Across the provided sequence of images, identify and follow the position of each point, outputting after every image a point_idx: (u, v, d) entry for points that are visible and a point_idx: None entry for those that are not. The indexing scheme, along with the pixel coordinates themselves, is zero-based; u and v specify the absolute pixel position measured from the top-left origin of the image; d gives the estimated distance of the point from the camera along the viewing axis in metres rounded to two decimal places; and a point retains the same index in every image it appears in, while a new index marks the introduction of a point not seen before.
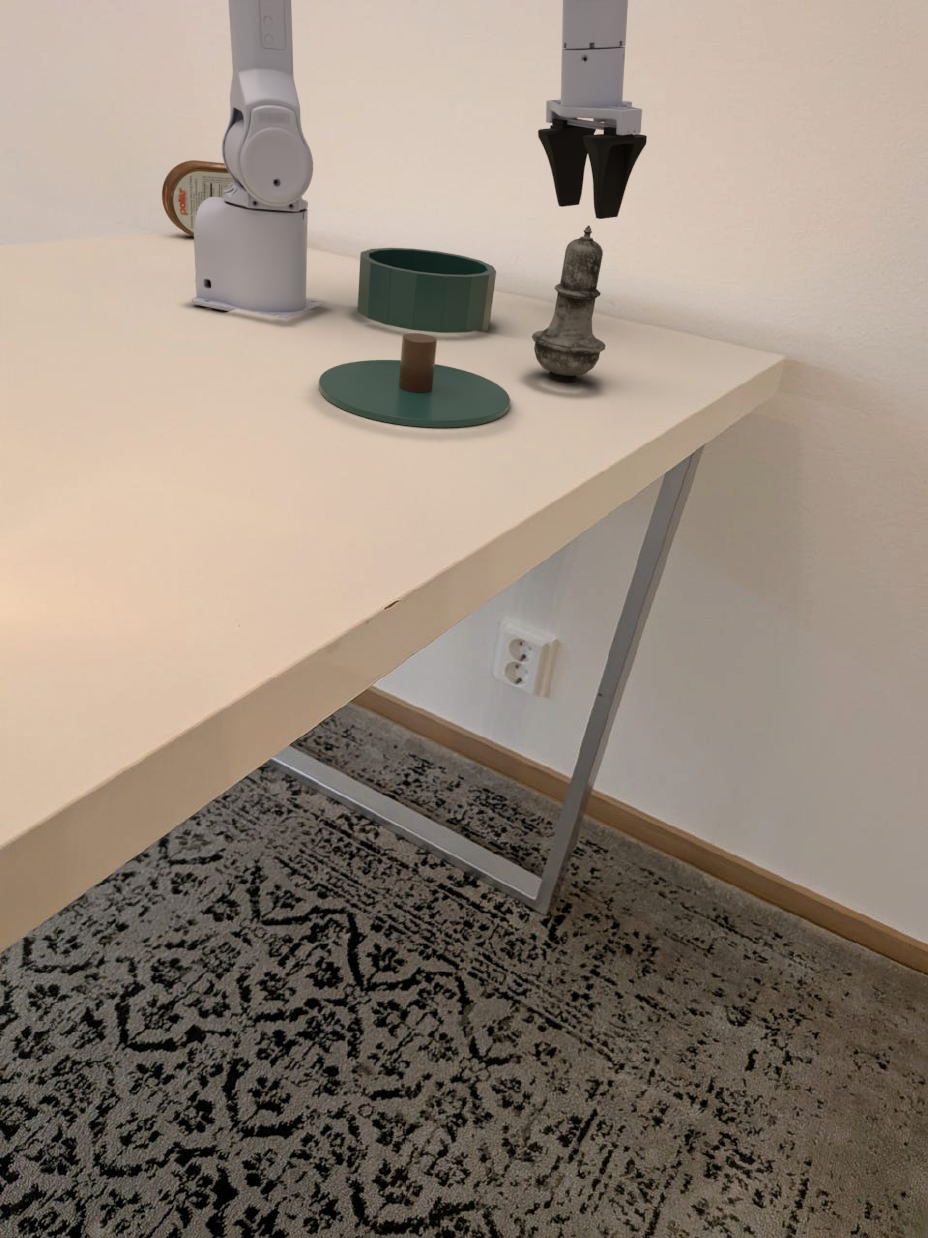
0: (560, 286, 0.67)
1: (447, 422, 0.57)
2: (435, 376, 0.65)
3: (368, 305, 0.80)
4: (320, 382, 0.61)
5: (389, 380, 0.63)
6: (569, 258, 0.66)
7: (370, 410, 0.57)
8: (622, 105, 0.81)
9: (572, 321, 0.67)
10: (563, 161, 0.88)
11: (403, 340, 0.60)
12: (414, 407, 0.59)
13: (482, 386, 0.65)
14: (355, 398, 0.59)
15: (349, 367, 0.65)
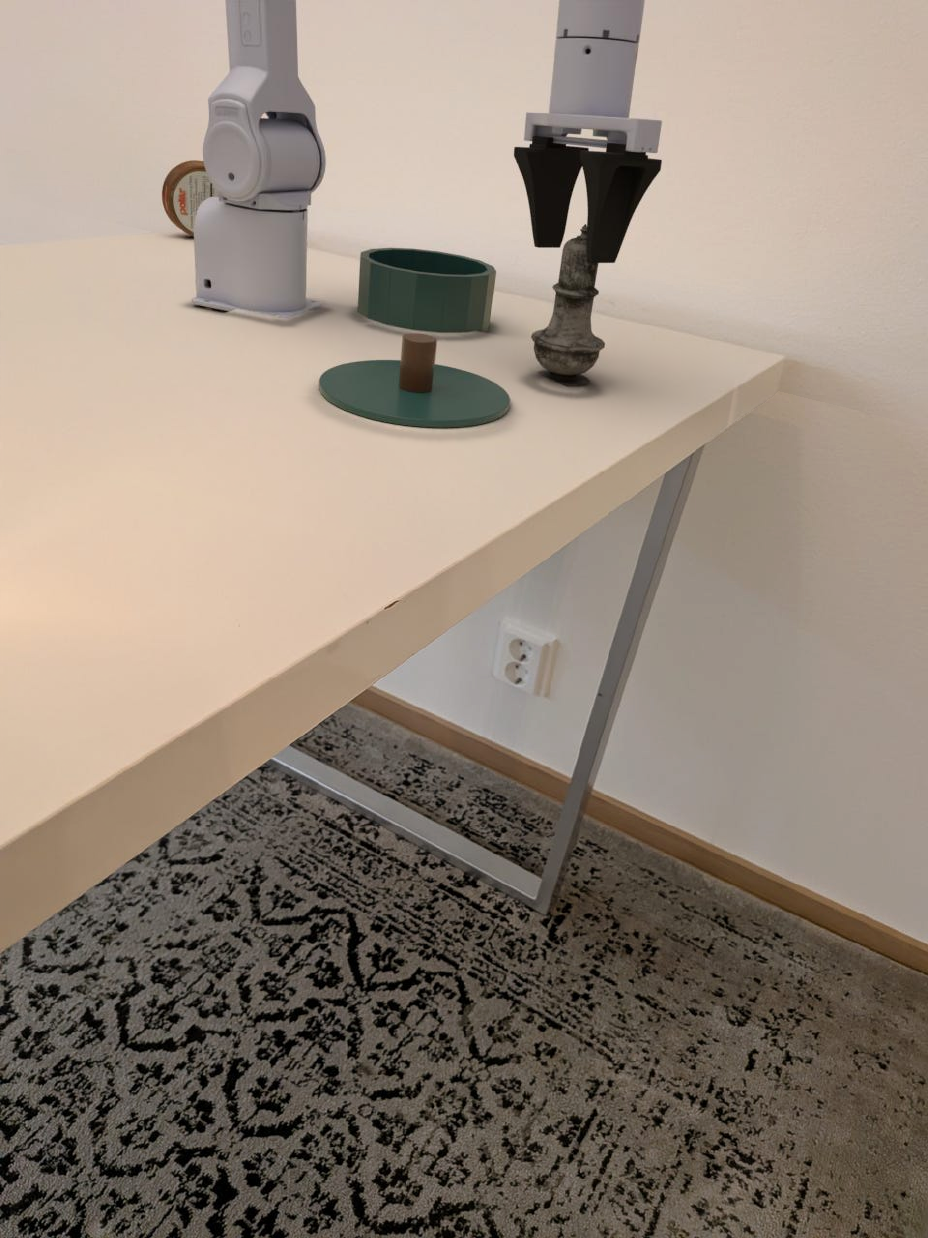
0: (558, 286, 0.67)
1: (447, 422, 0.57)
2: (435, 376, 0.65)
3: (368, 305, 0.80)
4: (320, 382, 0.61)
5: (389, 380, 0.63)
6: (566, 258, 0.65)
7: (370, 410, 0.57)
8: None
9: (571, 320, 0.67)
10: (544, 189, 0.68)
11: (403, 340, 0.60)
12: (414, 407, 0.59)
13: (482, 386, 0.65)
14: (355, 398, 0.59)
15: (349, 367, 0.65)
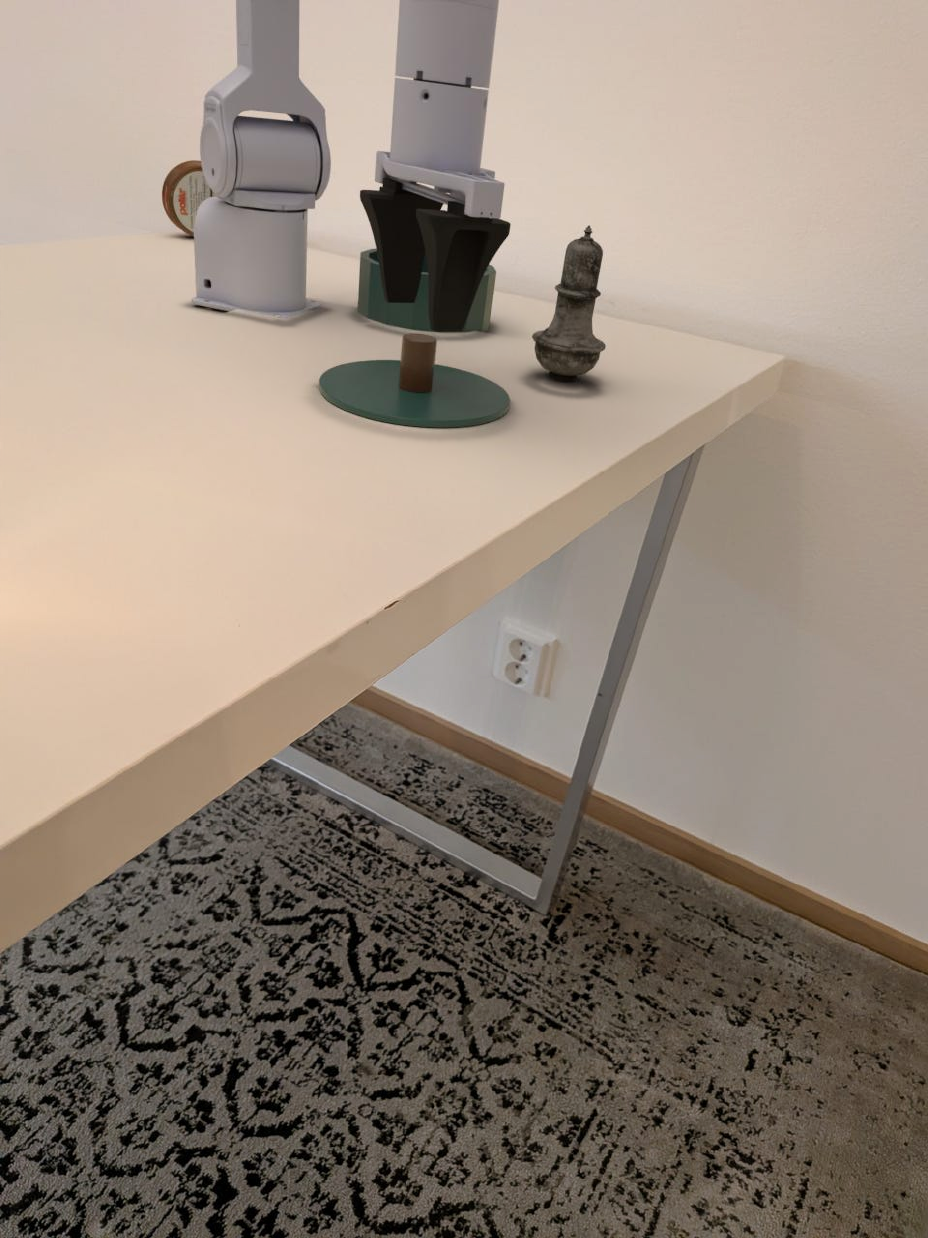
0: (560, 286, 0.67)
1: (447, 422, 0.57)
2: (435, 376, 0.65)
3: (368, 305, 0.80)
4: (320, 382, 0.61)
5: (389, 380, 0.63)
6: (569, 258, 0.66)
7: (370, 410, 0.57)
8: (479, 174, 0.54)
9: (573, 321, 0.67)
10: (394, 240, 0.60)
11: (403, 340, 0.60)
12: (414, 407, 0.59)
13: (482, 386, 0.65)
14: (355, 398, 0.59)
15: (349, 367, 0.65)
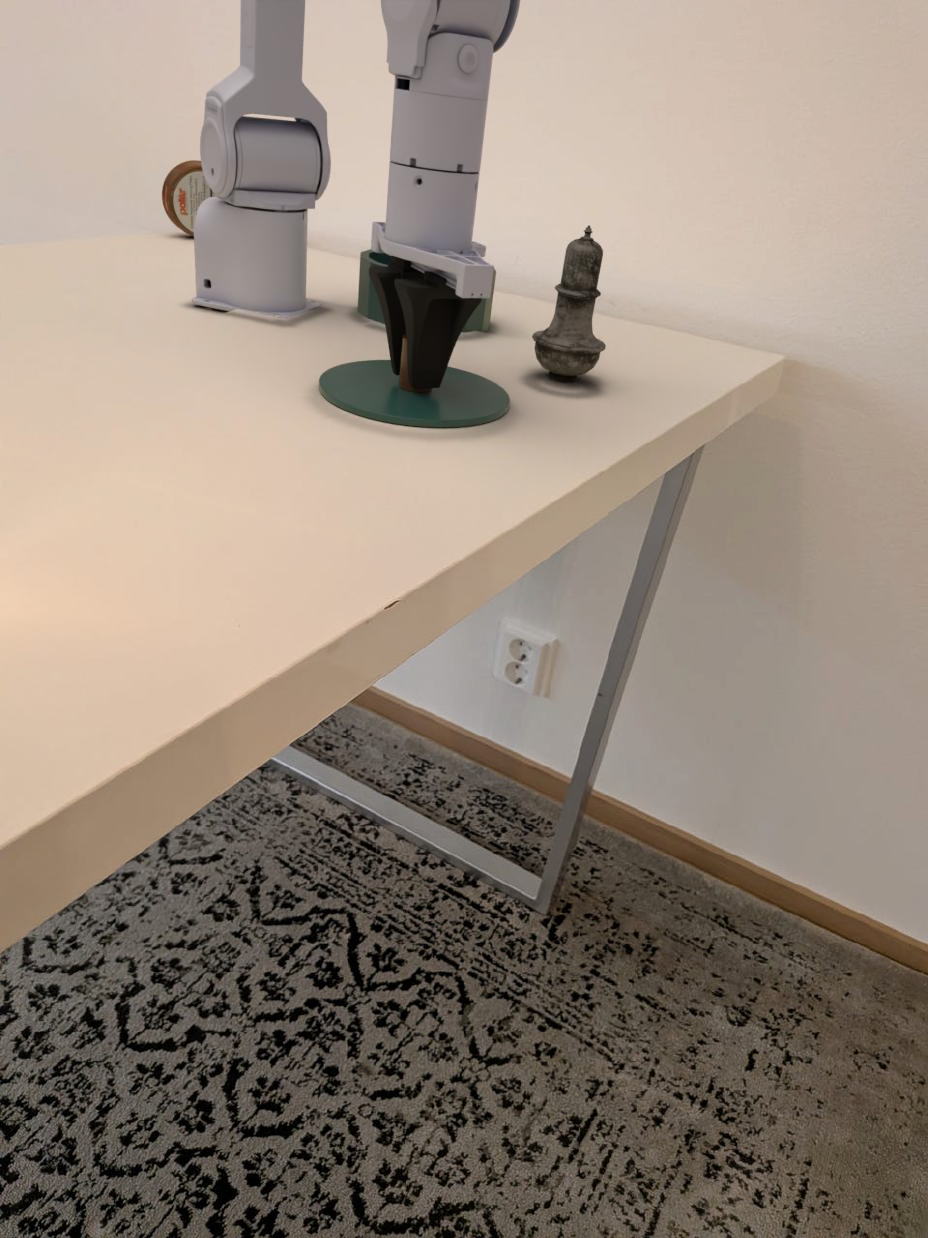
0: (560, 286, 0.67)
1: (447, 422, 0.57)
2: None
3: (368, 305, 0.80)
4: (320, 382, 0.61)
5: (389, 380, 0.63)
6: (569, 258, 0.66)
7: (370, 410, 0.57)
8: (470, 251, 0.57)
9: (573, 321, 0.67)
10: (402, 315, 0.61)
11: (403, 340, 0.60)
12: (414, 407, 0.59)
13: (482, 386, 0.65)
14: (355, 398, 0.59)
15: (349, 367, 0.65)
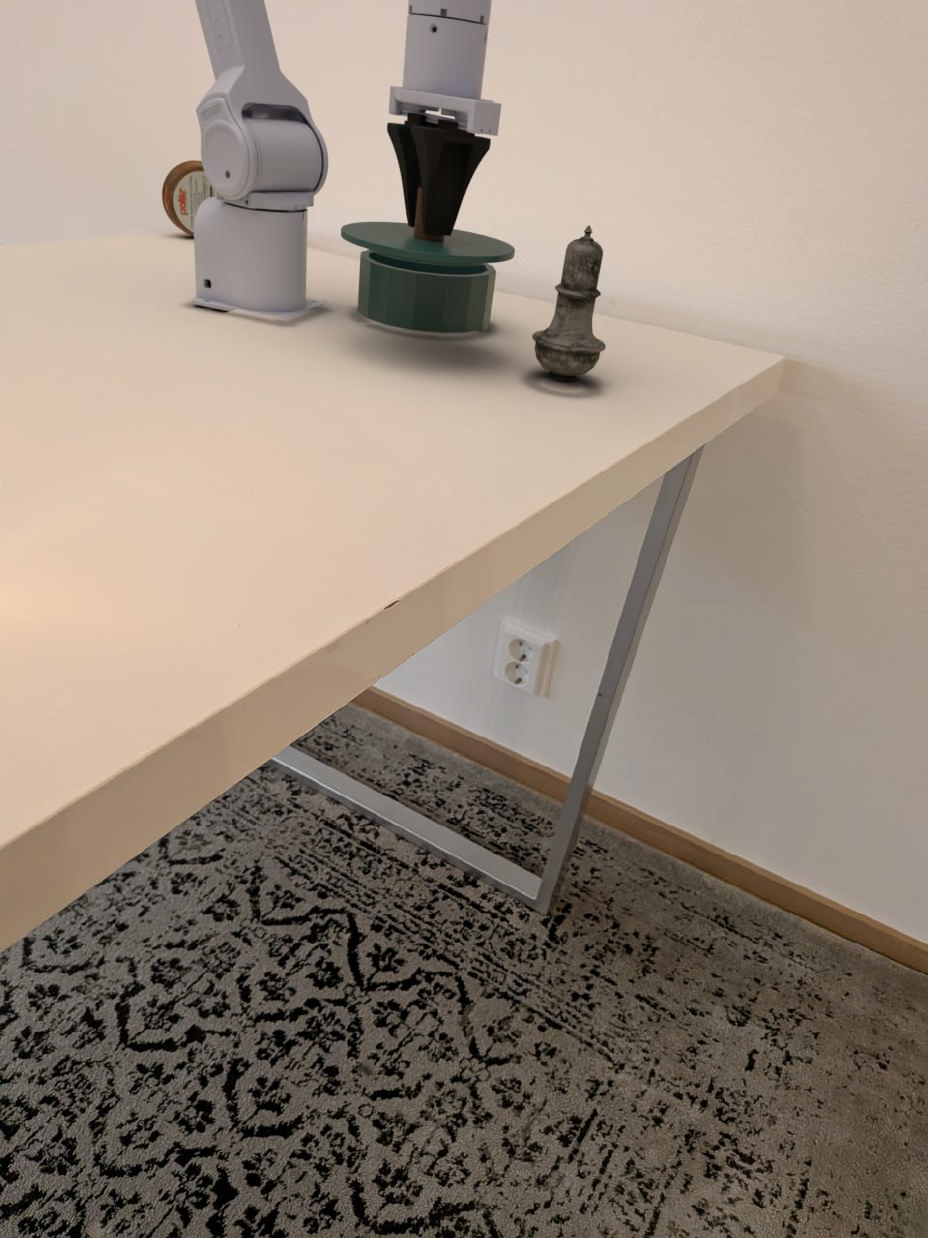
0: (560, 286, 0.67)
1: (458, 257, 0.63)
2: None
3: (368, 305, 0.80)
4: (342, 229, 0.67)
5: (405, 232, 0.69)
6: (569, 258, 0.66)
7: (388, 245, 0.63)
8: (480, 100, 0.63)
9: (573, 321, 0.67)
10: (417, 168, 0.67)
11: (418, 189, 0.66)
12: (428, 247, 0.65)
13: (490, 241, 0.71)
14: (374, 239, 0.65)
15: (368, 224, 0.71)
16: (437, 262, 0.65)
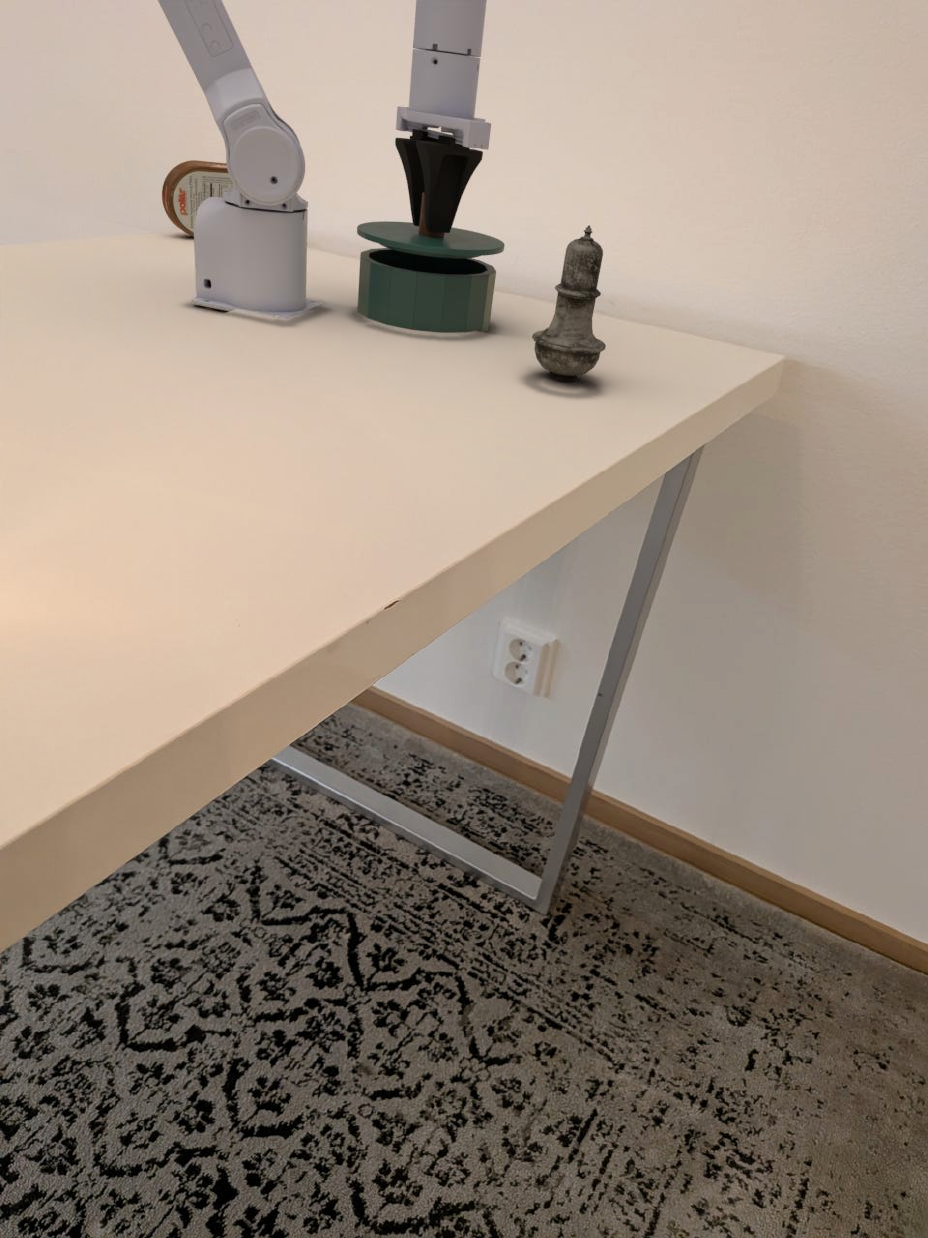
0: (560, 286, 0.67)
1: (456, 250, 0.76)
2: None
3: (368, 305, 0.80)
4: (358, 227, 0.79)
5: (411, 230, 0.82)
6: (569, 258, 0.66)
7: (398, 241, 0.76)
8: (473, 119, 0.75)
9: (573, 321, 0.67)
10: (420, 176, 0.79)
11: (422, 194, 0.79)
12: (431, 242, 0.77)
13: (483, 237, 0.83)
14: (386, 236, 0.77)
15: (379, 223, 0.83)
16: (439, 255, 0.77)
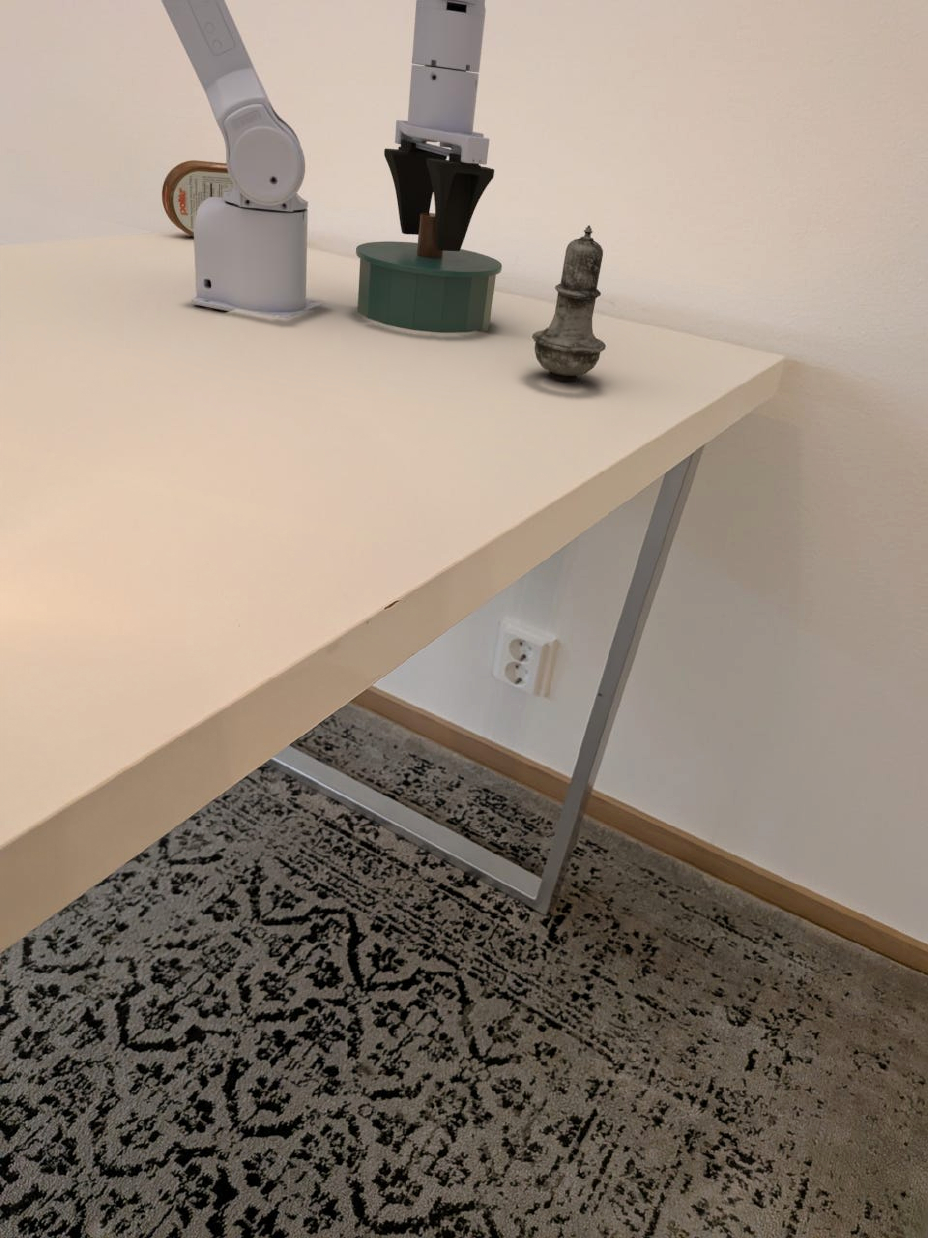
0: (560, 286, 0.67)
1: (454, 272, 0.77)
2: (444, 251, 0.85)
3: (368, 305, 0.80)
4: (357, 249, 0.80)
5: (409, 251, 0.83)
6: (569, 258, 0.66)
7: (396, 263, 0.76)
8: (472, 134, 0.75)
9: (573, 321, 0.67)
10: (409, 186, 0.81)
11: (420, 216, 0.80)
12: (429, 264, 0.78)
13: (480, 258, 0.84)
14: (384, 257, 0.78)
15: (378, 243, 0.84)
16: None
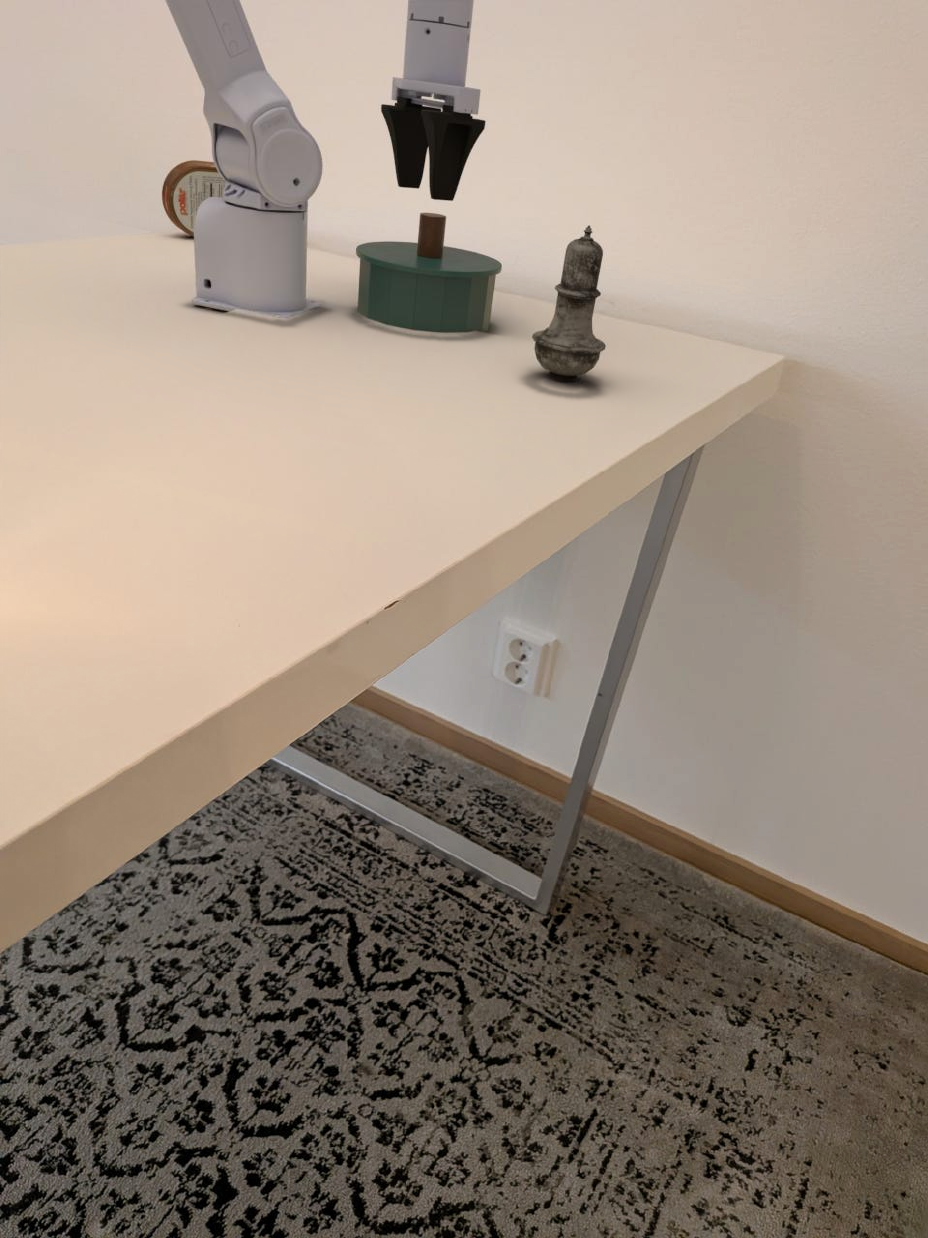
0: (560, 286, 0.67)
1: (454, 272, 0.77)
2: (444, 251, 0.85)
3: (368, 305, 0.80)
4: (357, 249, 0.80)
5: (409, 251, 0.83)
6: (569, 258, 0.66)
7: (396, 263, 0.76)
8: None
9: (573, 321, 0.67)
10: (405, 140, 0.85)
11: (420, 216, 0.80)
12: (429, 264, 0.78)
13: (480, 258, 0.84)
14: (384, 257, 0.78)
15: (378, 243, 0.84)
16: None
